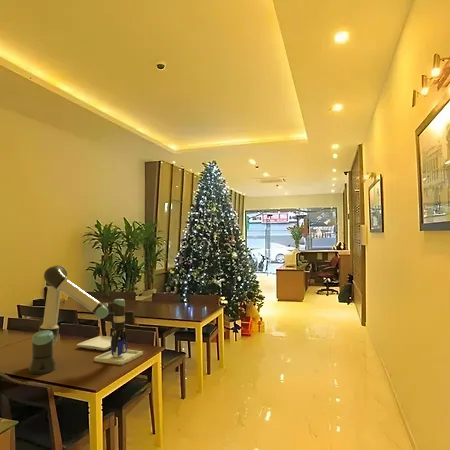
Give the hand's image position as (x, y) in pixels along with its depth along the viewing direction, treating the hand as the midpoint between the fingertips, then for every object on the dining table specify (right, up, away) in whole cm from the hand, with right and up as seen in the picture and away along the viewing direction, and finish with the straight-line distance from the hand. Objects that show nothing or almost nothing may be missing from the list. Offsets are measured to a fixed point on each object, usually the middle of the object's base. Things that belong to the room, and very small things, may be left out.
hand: (119, 355), depth 256 cm
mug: (0, 0, 0) cm, 1 cm away
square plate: (-22, -4, +31) cm, 38 cm away
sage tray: (0, -2, 0) cm, 2 cm away
